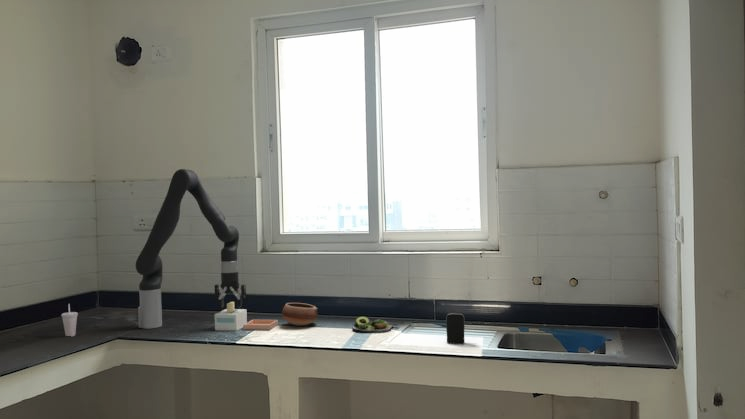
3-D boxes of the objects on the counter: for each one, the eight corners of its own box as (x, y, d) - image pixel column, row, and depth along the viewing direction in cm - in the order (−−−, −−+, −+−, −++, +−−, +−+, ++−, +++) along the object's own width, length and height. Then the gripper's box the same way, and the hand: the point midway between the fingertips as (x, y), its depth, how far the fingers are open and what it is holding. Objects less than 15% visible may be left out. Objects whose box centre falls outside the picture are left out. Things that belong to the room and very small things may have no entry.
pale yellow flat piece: (227, 324, 267) (226, 303, 267) (231, 321, 272) (231, 301, 272) (230, 324, 267) (229, 303, 267) (234, 321, 272) (234, 301, 272)
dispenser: (214, 330, 264) (214, 313, 264) (226, 324, 276) (225, 308, 276) (236, 330, 263) (236, 313, 262) (246, 324, 275) (246, 308, 274)
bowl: (321, 327, 266) (321, 304, 266) (287, 330, 260) (286, 307, 260) (312, 320, 281) (311, 298, 280) (278, 323, 275) (278, 301, 275)
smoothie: (60, 338, 257) (59, 305, 256) (64, 334, 263) (62, 302, 263) (77, 336, 259) (75, 304, 258) (80, 333, 265) (78, 301, 264)
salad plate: (399, 324, 269) (398, 314, 269) (396, 333, 251) (396, 322, 251) (355, 324, 271) (355, 314, 271) (350, 334, 253) (350, 323, 253)
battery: (465, 341, 234) (464, 312, 234) (464, 344, 230) (464, 314, 230) (447, 341, 236) (446, 312, 235) (446, 343, 232) (445, 314, 232)
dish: (243, 329, 264) (243, 324, 264) (252, 324, 275) (252, 319, 275) (269, 330, 262) (269, 325, 262) (277, 324, 273) (277, 319, 273)
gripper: (210, 272, 266) (212, 309, 267) (241, 272, 264) (242, 309, 264) (217, 270, 274) (219, 306, 274) (248, 269, 271) (249, 306, 272)
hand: (230, 307), depth 269 cm, fingers open, 7 cm apart
